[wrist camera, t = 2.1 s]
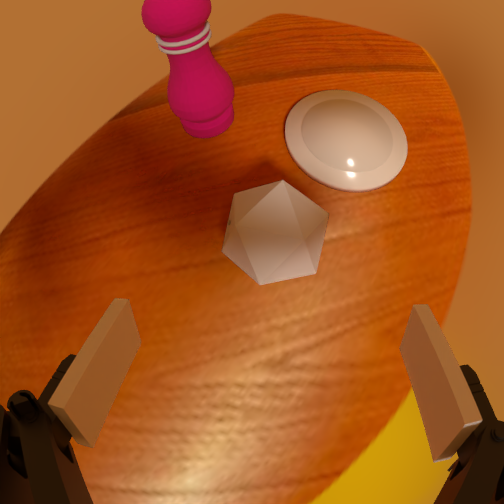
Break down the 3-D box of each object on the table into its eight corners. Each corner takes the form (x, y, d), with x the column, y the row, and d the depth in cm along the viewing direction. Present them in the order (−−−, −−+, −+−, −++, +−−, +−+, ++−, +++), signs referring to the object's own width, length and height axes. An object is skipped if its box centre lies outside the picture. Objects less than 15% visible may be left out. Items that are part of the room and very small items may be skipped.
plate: (285, 190, 32) (285, 185, 31) (283, 93, 37) (283, 86, 35) (414, 195, 31) (418, 190, 30) (391, 100, 35) (394, 94, 34)
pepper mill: (213, 89, 38) (179, -47, 19) (251, 117, 36) (229, -38, 17) (167, 121, 37) (108, -14, 18) (202, 152, 35) (147, -2, 16)
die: (278, 192, 33) (208, 167, 26) (354, 203, 28) (296, 173, 20) (261, 269, 34) (188, 265, 27) (333, 293, 28) (268, 297, 21)
